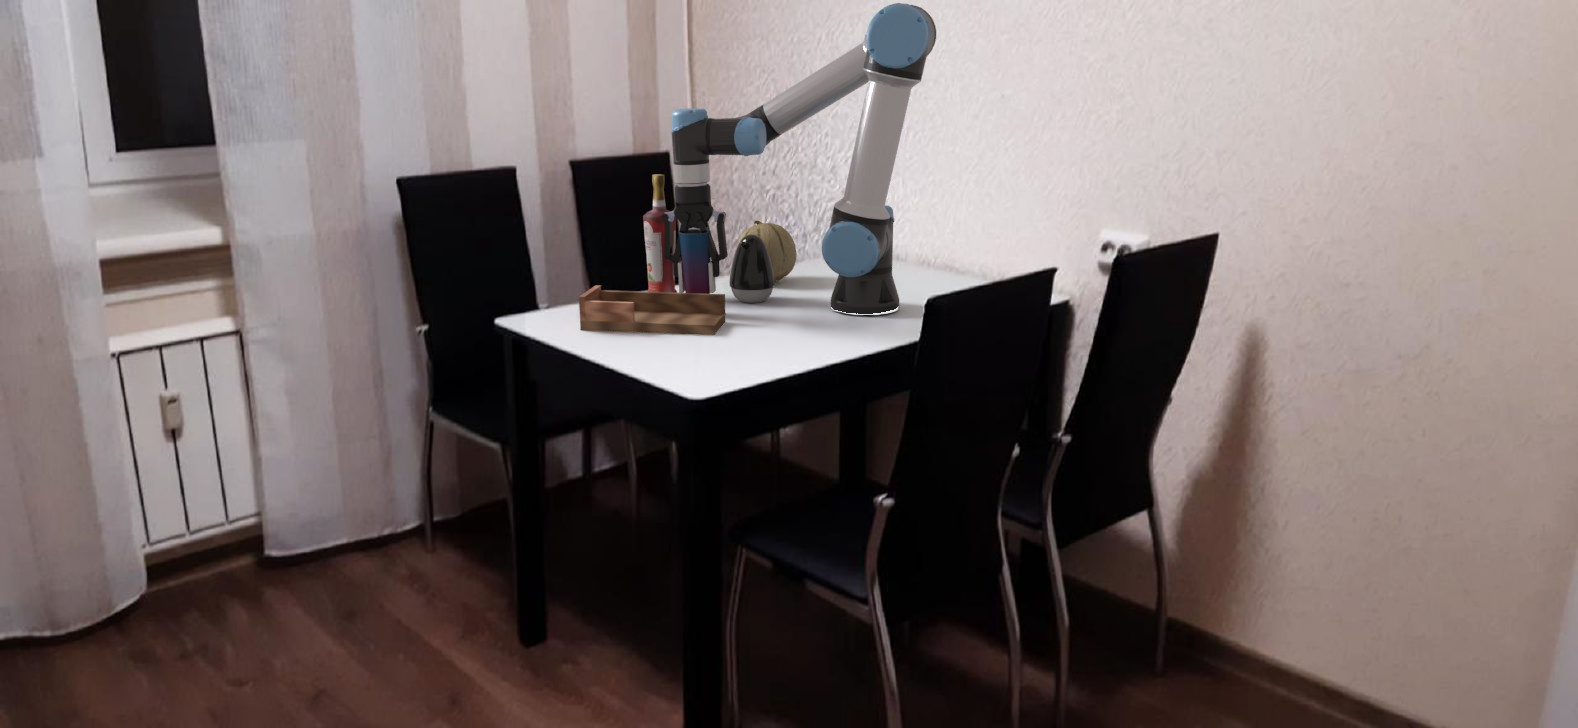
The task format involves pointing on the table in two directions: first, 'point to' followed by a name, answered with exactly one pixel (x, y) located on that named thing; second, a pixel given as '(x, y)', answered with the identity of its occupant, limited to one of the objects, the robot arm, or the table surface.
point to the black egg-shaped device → (752, 271)
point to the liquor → (658, 242)
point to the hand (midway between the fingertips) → (697, 291)
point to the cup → (695, 261)
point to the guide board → (651, 312)
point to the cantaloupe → (776, 247)
